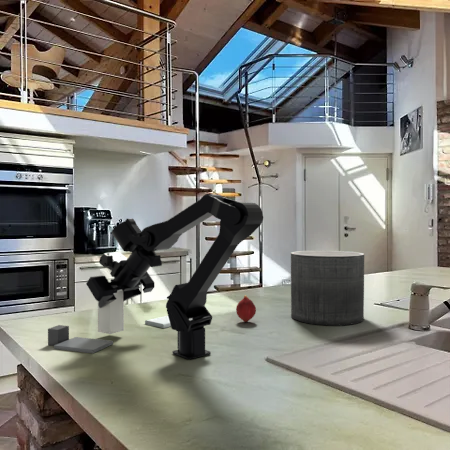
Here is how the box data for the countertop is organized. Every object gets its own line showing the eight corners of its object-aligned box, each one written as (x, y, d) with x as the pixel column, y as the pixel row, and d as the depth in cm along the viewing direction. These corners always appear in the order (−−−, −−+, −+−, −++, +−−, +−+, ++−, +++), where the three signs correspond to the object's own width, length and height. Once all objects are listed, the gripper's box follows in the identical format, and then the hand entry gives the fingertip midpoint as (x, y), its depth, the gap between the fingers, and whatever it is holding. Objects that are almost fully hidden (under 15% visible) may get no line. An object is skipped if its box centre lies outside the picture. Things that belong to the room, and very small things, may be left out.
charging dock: (112, 344, 112) (112, 327, 112) (93, 353, 104) (93, 335, 104) (64, 338, 116) (64, 323, 116) (42, 347, 109) (42, 330, 109)
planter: (306, 328, 128) (306, 257, 127) (281, 312, 149) (281, 251, 149) (378, 324, 132) (378, 255, 132) (343, 309, 154) (343, 250, 153)
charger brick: (123, 330, 119) (123, 284, 119) (110, 334, 115) (109, 287, 115) (111, 328, 122) (111, 283, 122) (98, 331, 118) (97, 285, 118)
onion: (259, 322, 135) (259, 295, 135) (247, 325, 131) (247, 297, 131) (244, 319, 139) (244, 293, 139) (232, 322, 135) (232, 295, 135)
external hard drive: (144, 325, 133) (176, 318, 142) (163, 329, 128) (194, 322, 137) (144, 319, 133) (176, 312, 142) (163, 324, 128) (194, 316, 137)
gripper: (146, 240, 124) (118, 277, 130) (91, 243, 108) (62, 286, 115) (168, 271, 119) (138, 308, 126) (113, 279, 104) (83, 321, 110)
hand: (107, 305), depth 119 cm, fingers closed on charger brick, 5 cm apart
